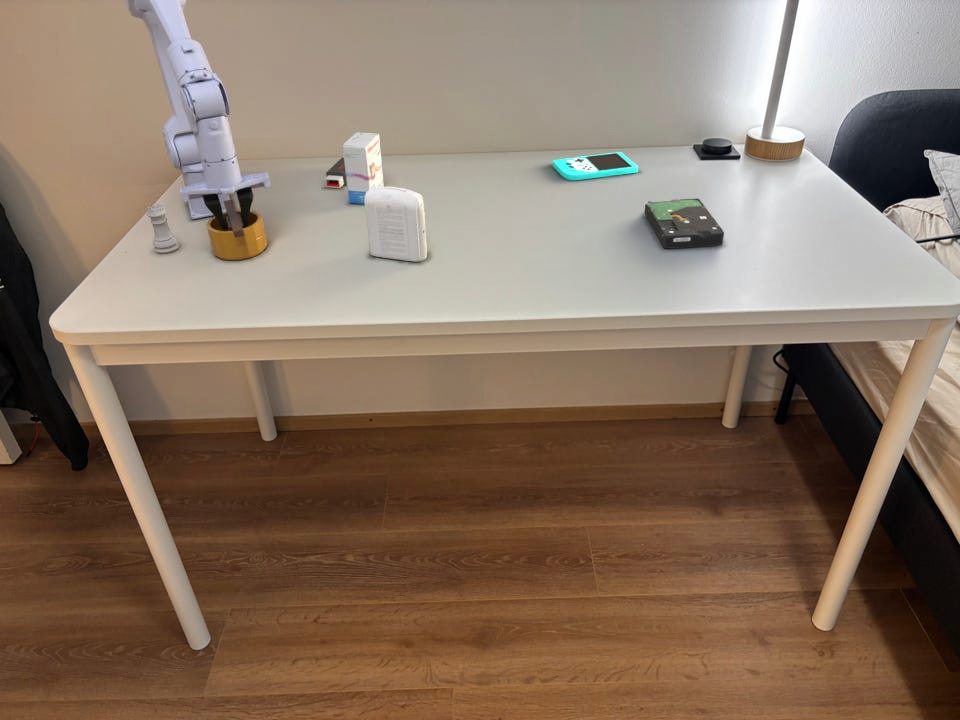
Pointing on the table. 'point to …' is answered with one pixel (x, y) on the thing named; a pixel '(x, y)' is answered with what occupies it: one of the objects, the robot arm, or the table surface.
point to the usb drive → (336, 175)
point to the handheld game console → (594, 166)
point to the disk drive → (683, 223)
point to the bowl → (238, 238)
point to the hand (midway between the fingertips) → (236, 231)
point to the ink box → (362, 165)
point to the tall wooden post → (233, 219)
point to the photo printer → (396, 223)
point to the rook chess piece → (162, 231)
